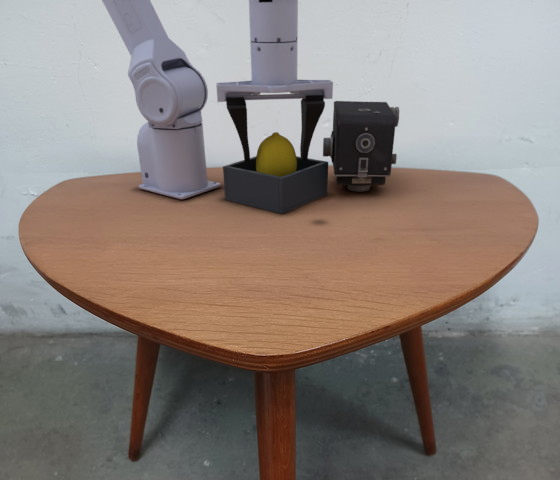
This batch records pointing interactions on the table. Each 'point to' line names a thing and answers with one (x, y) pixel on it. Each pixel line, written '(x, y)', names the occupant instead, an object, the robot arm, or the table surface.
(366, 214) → the table surface
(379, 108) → the camera
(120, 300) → the table surface
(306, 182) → the bin
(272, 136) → the lemon
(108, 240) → the table surface
